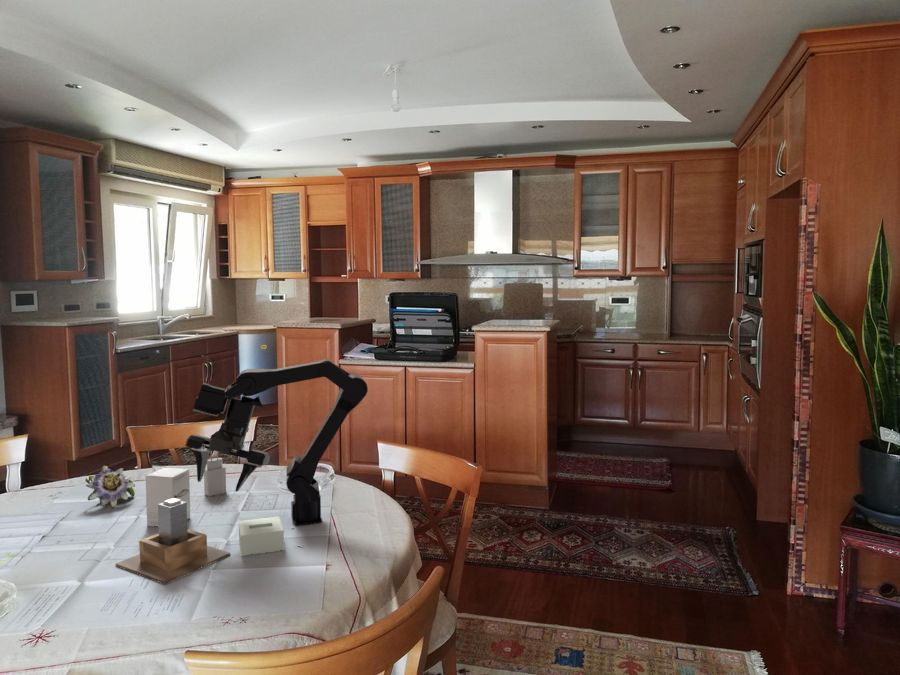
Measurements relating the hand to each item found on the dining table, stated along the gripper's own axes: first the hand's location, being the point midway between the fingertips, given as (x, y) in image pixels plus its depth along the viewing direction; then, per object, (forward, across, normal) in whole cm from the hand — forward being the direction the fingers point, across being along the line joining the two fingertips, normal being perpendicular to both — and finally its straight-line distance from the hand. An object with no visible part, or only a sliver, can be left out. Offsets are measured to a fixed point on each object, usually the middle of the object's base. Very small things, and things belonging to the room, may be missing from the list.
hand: (217, 486), depth 155 cm
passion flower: (+14, -33, +22) cm, 43 cm away
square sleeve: (+15, -1, -12) cm, 20 cm away
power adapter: (+7, -9, +30) cm, 32 cm away
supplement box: (+13, -12, +9) cm, 19 cm away
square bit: (+15, -1, -12) cm, 19 cm away
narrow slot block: (+9, +15, -5) cm, 18 cm away
